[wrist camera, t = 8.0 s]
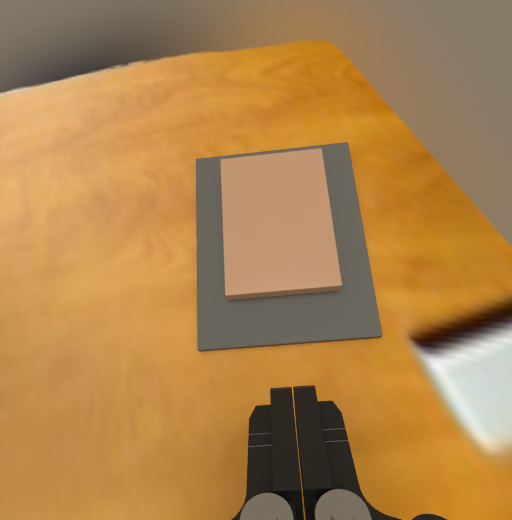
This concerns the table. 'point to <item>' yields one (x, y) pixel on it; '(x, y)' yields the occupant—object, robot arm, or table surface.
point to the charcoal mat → (289, 306)
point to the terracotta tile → (277, 226)
